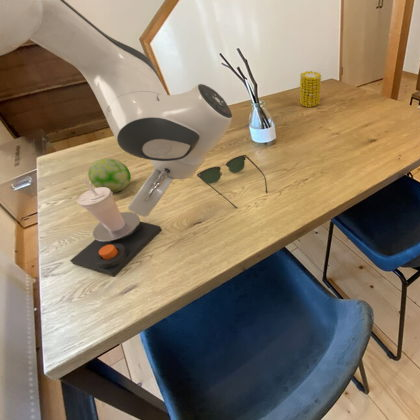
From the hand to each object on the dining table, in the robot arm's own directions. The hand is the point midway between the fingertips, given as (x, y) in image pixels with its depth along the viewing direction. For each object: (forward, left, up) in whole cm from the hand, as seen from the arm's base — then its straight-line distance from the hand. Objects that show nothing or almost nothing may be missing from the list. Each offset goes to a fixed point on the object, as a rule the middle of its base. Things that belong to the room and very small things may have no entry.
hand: (149, 195), depth 61 cm
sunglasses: (+22, -7, -13) cm, 27 cm away
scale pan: (-4, +11, -10) cm, 16 cm away
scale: (-7, +9, -13) cm, 17 cm away
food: (+90, -7, -13) cm, 91 cm away
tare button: (-11, +6, -10) cm, 16 cm away
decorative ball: (+11, +28, -13) cm, 33 cm away
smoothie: (-4, +11, -9) cm, 15 cm away
